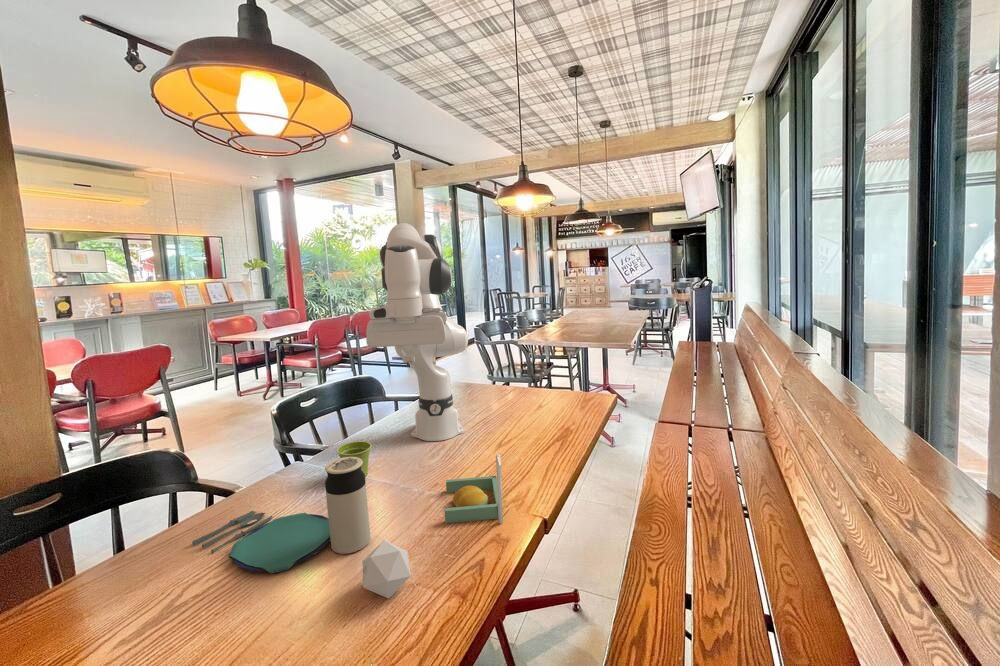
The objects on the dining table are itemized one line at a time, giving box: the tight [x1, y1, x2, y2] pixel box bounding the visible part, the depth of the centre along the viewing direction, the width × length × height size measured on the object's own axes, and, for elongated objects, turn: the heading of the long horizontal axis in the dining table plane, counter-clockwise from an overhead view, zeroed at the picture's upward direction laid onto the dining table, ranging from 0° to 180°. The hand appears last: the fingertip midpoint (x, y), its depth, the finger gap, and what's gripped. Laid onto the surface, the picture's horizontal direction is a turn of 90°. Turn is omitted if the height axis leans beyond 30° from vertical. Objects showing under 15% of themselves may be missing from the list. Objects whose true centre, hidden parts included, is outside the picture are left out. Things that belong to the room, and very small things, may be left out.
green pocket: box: [444, 454, 504, 525], centre depth 104 cm, size 22×13×16 cm, turn 6°
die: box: [361, 539, 412, 600], centre depth 79 cm, size 8×9×10 cm
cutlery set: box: [192, 510, 331, 574], centre depth 96 cm, size 20×30×2 cm, turn 65°
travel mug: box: [324, 457, 371, 555], centre depth 93 cm, size 8×8×18 cm
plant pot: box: [336, 440, 372, 478], centre depth 125 cm, size 9×9×9 cm
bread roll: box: [452, 485, 489, 507], centre depth 108 cm, size 8×9×4 cm
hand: (408, 362), depth 114 cm, fingers closed
